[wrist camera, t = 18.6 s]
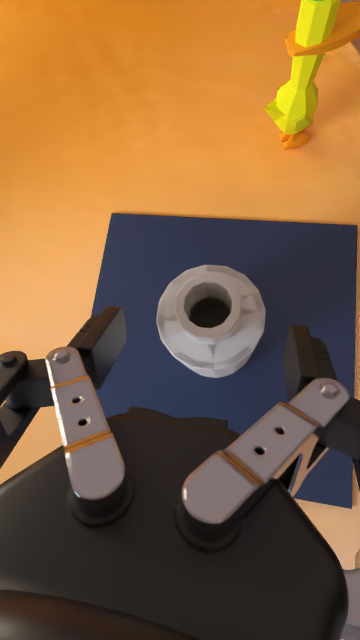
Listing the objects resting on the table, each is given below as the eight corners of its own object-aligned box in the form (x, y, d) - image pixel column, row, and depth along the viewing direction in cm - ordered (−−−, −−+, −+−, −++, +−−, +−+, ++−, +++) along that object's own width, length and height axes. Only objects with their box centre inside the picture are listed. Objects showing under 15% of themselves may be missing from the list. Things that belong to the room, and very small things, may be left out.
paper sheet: (64, 455, 24) (63, 455, 24) (112, 214, 28) (111, 213, 28) (350, 507, 21) (351, 508, 20) (356, 226, 25) (357, 225, 25)
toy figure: (325, 108, 28) (397, -98, 16) (342, 140, 27) (432, -54, 15) (250, 136, 28) (267, -46, 16) (265, 168, 27) (294, 0, 16)
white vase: (172, 372, 24) (139, 357, 15) (182, 299, 25) (157, 244, 16) (249, 382, 23) (265, 373, 14) (256, 306, 24) (274, 252, 15)
